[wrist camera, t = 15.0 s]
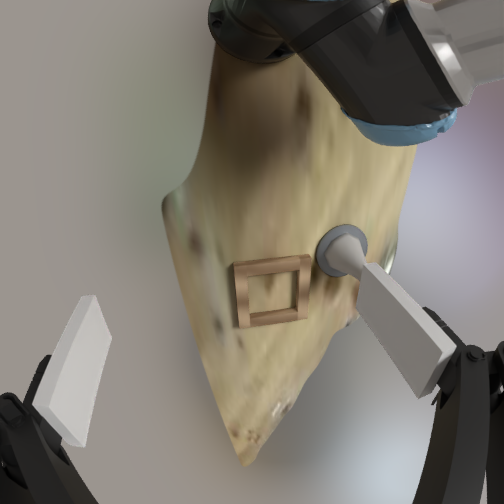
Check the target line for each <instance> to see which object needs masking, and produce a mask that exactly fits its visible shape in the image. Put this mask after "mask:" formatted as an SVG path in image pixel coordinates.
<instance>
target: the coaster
mask: <svg viewBox="0 0 504 504" xmlns="http://www.w3.org/2000/svg"><path fill="white" fill-rule="evenodd" d="M345 233H349V234H351V235H353V236H355V237H357V238H359V241H360V244H361V247H362V251H363V254H364V256H366V253H367V247H368V244H367V239H366V236H365V234H364V233H363V232H362V231H361V230H360V229H359V228H357V227H356V226H353V225H349V224H344V225H339V226H336V227H334V228H332V229H331V230H329V231H328V232H327V233H326V234H325V235H324V236H323V238H322V239H321V241H320V243H319V245H318V248H317V253H316V258H317V262H318V265H319V266H320V268H321V269H322V270H323V271H324V272H325V273H326V274H328V275H330V276H335V277H339V276H345V275H347V274H346V273H343V272H341V271H339V270H336V269H334V268H332V267H329V265H328V262H327V259H326V257H325V252H326V250H327V249H328V247H329V245H330V244H331V242H332V240H333V239H335V238H337V237H339V236H341V235H343V234H345Z"/></svg>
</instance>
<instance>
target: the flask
mask: <svg viewBox="0 0 504 504" xmlns="http://www.w3.org/2000/svg"><path fill="white" fill-rule="evenodd" d="M325 257H326V259H327V262H328V265H329V267H332V268H334V269H336V270H339V271H341V272H343V273H346V274H349V275H352V276H353V277H355V278H356V279H358V280H359V281H361V274H362V268H363V264H367V262H366V259H365V256H364V254H363V251H362V247H361V244H360V241H359V238H357V237H355V236H353V235H351V234H349V233H345V234H343V235H341V236H339V237H337V238H335V239H333V240H332V242H331V244H330V245H329V247H328V249H327V250H326V252H325Z"/></svg>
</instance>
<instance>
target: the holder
mask: <svg viewBox="0 0 504 504" xmlns="http://www.w3.org/2000/svg"><path fill="white" fill-rule="evenodd" d="M311 259H312V258H311V257H310V255H309V254H305V255H296V256H288V257H279V258H270V259H261V260H253V261H244V262H235V263H233V267H234V278H235V290H236V301H237V312H238V323H239V328H248V327H255V326H262V325H269V324H276V323H283V322H289V321H295V320H301V319H307V317H308V305H309V291H310V276H311ZM294 270H297V288H296V307H294V308H287V309H280V310H273V311H266V312H259V313H251V314H249V299H248V282H247V276H254V275H262V274H270V273H278V272H286V271H294Z"/></svg>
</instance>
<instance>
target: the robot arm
mask: <svg viewBox="0 0 504 504" xmlns="http://www.w3.org/2000/svg"><path fill="white" fill-rule="evenodd" d="M208 25H209V29H210V32H211V34H212V36H213V38H214V40H215V41H216V42H217V43H218V45H219V46H220V47H221V48H222V49H224V50H225V51H226V52H228V53H229V54H231V55H232V56H234V57H236V58H239V59H241V60H244V61H248V62H253V63H273V62H278V61H282V60H284V59H287V58H289V57H291V56H292V55H294V54H295V53H297V54H298V56H299V57H300V58H301V59H302V60H303V61H304V62H305V63H306V64H307V66H308V67H309V68H310V69H311V70H312V71H313V73H314V74H315V75H316V76H317V77H318V78H319V80H320V81H321V82H322V83H323V84H324V86H325V87H326V88H327V89H328V91H329V92H330V93H331V94H332V96H333V97H334V98H335V100H336V101H337V102H338V103H339V105H340V106H341V110H342V112H343V113H344V114H345V115H346V116H347V117H348V118H349V119H351V120H352V122H353V123H354V124H355V125H356V127H357V128H358V129H359V131H360V132H361V133H362V134H363V135H364V136H365V137H366V138H368V139H370V140H371V141H373V142H375V143H377V144H381V145H385V146H409V145H415V144H419V143H423V142H426V141H429V140H431V139H433V138H435V137H437V133H439V132H446V131H447V130H448V129H449V128H450V127H451V126H452V125H453V123H454V121H455V120H456V116H457V108H458V107H462V106H465V105H468V103H469V101H470V98H471V95H472V93H473V90H474V88H475V87H476V86H477V85H481V84H485V83H489V82H492V81H497V80H501V79H504V0H441V1H438V2H436V3H431V4H427V3H424V2H422V1H419V0H399V1H397V2H394V3H391V2H390V1H389V0H212V1H211V3H210V7H209V12H208ZM356 309H357V311H358V312H359V314H360V315H361V316H362V318H363V319H364V321H365V322H366V323H367V325H368V326H369V327H370V329H371V330H372V332H373V333H374V335H375V336H376V337H377V339H378V340H379V342H380V343H381V345H382V346H383V347H384V349H385V350H386V352H387V353H388V355H389V356H390V358H391V359H392V360H393V362H394V363H395V365H396V366H397V368H398V369H399V371H400V372H401V374H402V375H403V377H404V378H405V380H406V381H407V383H408V384H409V386H410V387H411V389H412V390H413V392H414V394H415V395H416V397H417V398H418V399H419V398H421V397H423V396H426V395H428V394H430V393H432V391H433V389H434V388H435V386H436V384H438V386H439V387H440V390H439V392H438V393H437V395H436V397H435V398H434V400H433V401H432V404H431V405H434V404H435V402H436V400H437V404H436V412H435V418H434V423H433V429H432V433H431V438H430V443H429V447H428V452H427V456H426V460H425V464H424V468H423V472H422V475H421V479H420V482H419V485H418V488H417V491H416V494H415V498H414V500H413V503H412V504H480V499H481V494H482V489H483V483H484V477H485V470H486V479H487V504H504V391H503V392H502V393H501V391H500V387H501V386H502V385H503V389H504V341H502V342H501V343H500V344H499V345H498V347H497V348H496V350H495V351H490V352H484V351H483V350H482V349H481V348H479V347H477V346H475V345H467V346H466V345H465V344H464V343H463V342H462V341H461V340H460V338H459V337H458V336H457V335H456V334H455V333H454V332H453V331H452V330H451V329H450V328H449V327H448V326H447V324H446V323H445V322H444V321H442V320H441V318H440V317H439V316H438V315H437V314H436V313H435V312H434V311H432V310H430V309H428V308H427V307H423V308H421V307H420V306H419V305H418V304H417V303H416V302H415V301H414V300H413V299H412V298H411V296H410V295H408V294H407V292H406V291H405V290H404V289H403V288H402V287H401V286H400V285H399V284H398V283H397V282H396V281H395V280H394V279H393V278H392V277H391V276H389V275H388V274H387V273H386V272H385V271H384V270H383V269H382V268H381V267H380V266H379V265H378V264H377V263H376V262H374V263H367V264H363V268H362V274H361V281H360V287H359V293H358V298H357V304H356ZM111 340H112V337H111V334H110V332H109V329H108V327H107V324H106V322H105V320H104V317H103V314H102V312H101V309H100V306H99V304H98V301H97V298H96V295H84V296H82V297H81V299H80V300H79V302H78V304H77V306H76V308H75V310H74V312H73V313H72V315H71V317H70V319H69V321H68V323H67V325H66V327H65V329H64V331H63V333H62V335H61V337H60V339H59V341H58V344H57V346H56V348H55V350H54V352H53V354H52V355H46V357H44V359H43V360H42V361H41V362H40V363H39V365H38V368H37V370H36V374H34V377H33V381H31V384H30V386H29V389H28V391H27V394H26V396H25V398H24V401H23V404H22V402H21V401H20V400H19V399H18V397H17V396H16V395H15V394H13V393H8V392H7V393H4V394H2V395H0V504H98V502H97V501H96V499H95V498H94V497H93V495H92V494H91V492H90V491H89V489H88V488H87V486H86V485H85V483H84V482H83V480H82V479H81V477H80V476H79V474H78V472H77V470H76V469H75V467H74V465H73V464H72V462H71V460H70V459H69V457H68V455H67V453H66V451H65V450H64V448H63V447H62V446H61V445H60V444H61V440H62V438H63V439H64V440H65V441H66V442H67V443H68V444H69V445H71V446H78V447H85V445H86V440H87V435H88V430H89V425H90V420H91V415H92V411H93V406H94V402H95V398H96V394H97V390H98V386H99V382H100V378H101V375H102V371H103V367H104V364H105V360H106V357H107V353H108V350H109V346H110V343H111ZM2 463H3V466H2Z"/></svg>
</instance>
